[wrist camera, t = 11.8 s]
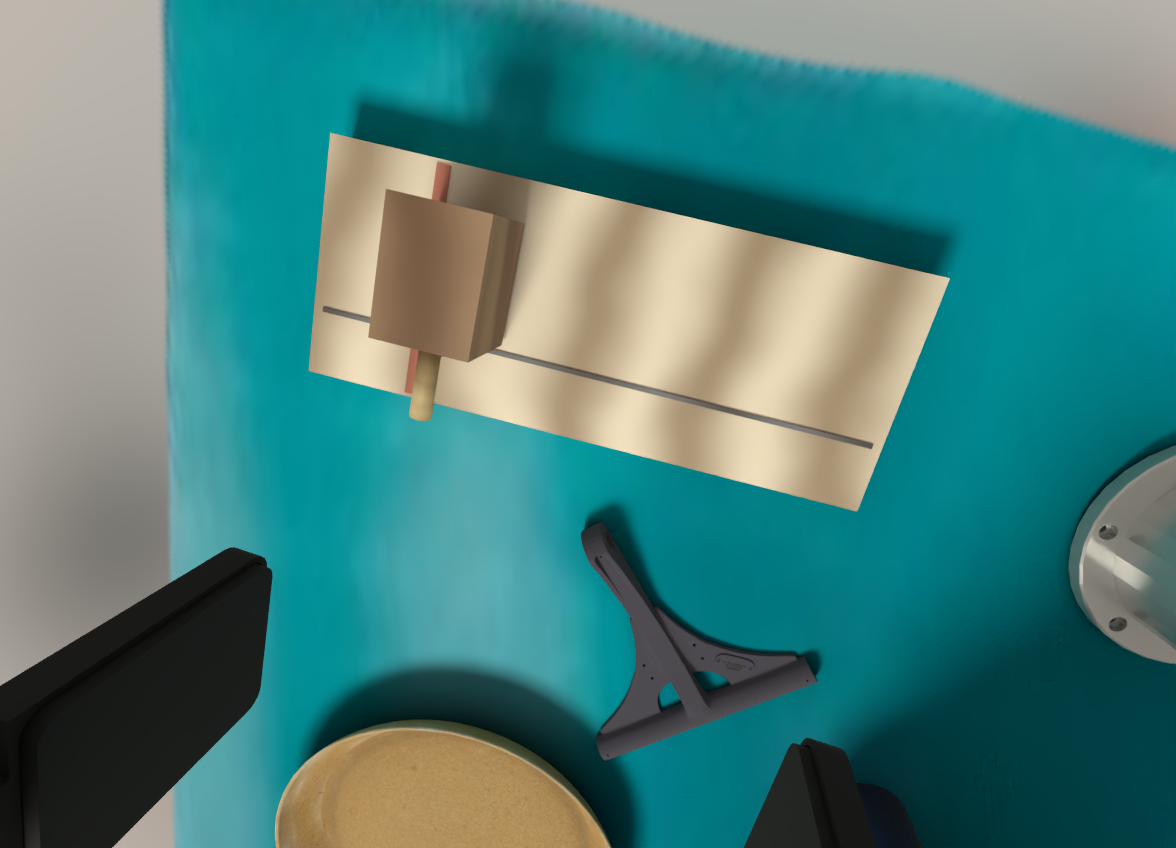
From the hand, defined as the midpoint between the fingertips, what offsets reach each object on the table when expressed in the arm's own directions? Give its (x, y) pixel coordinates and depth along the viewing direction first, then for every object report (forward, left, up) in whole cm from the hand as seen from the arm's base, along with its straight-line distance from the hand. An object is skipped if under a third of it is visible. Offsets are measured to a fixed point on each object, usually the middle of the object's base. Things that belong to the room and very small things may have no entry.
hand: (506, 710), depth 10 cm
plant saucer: (+3, +34, -24) cm, 41 cm away
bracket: (-6, +13, -24) cm, 28 cm away
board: (+1, -4, -23) cm, 23 cm away
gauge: (+8, -3, -21) cm, 23 cm away
